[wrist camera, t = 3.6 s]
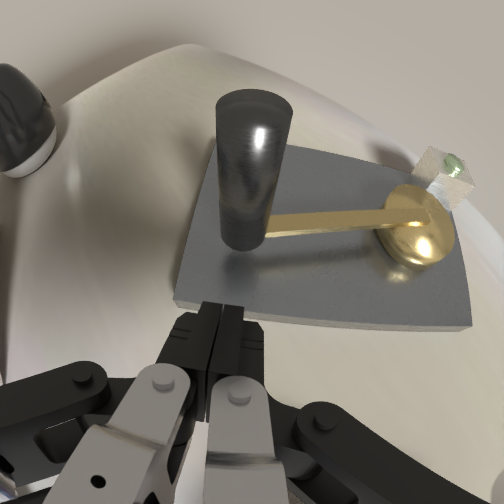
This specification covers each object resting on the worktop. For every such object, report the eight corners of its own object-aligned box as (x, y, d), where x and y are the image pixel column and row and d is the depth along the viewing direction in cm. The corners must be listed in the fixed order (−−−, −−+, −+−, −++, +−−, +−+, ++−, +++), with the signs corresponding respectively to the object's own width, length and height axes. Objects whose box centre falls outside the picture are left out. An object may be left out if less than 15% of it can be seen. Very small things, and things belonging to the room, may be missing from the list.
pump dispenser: (-5, 185, 23) (-57, 107, 10) (38, 131, 28) (3, 51, 14) (30, 198, 23) (-35, 98, 9) (80, 134, 27) (43, 34, 14)
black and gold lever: (421, 199, 23) (484, 116, 13) (448, 265, 20) (535, 192, 10) (217, 209, 21) (212, 69, 10) (226, 299, 18) (222, 179, 7)
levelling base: (433, 194, 27) (465, 155, 20) (458, 331, 20) (512, 308, 13) (217, 150, 27) (216, 92, 20) (178, 307, 19) (153, 269, 13)
